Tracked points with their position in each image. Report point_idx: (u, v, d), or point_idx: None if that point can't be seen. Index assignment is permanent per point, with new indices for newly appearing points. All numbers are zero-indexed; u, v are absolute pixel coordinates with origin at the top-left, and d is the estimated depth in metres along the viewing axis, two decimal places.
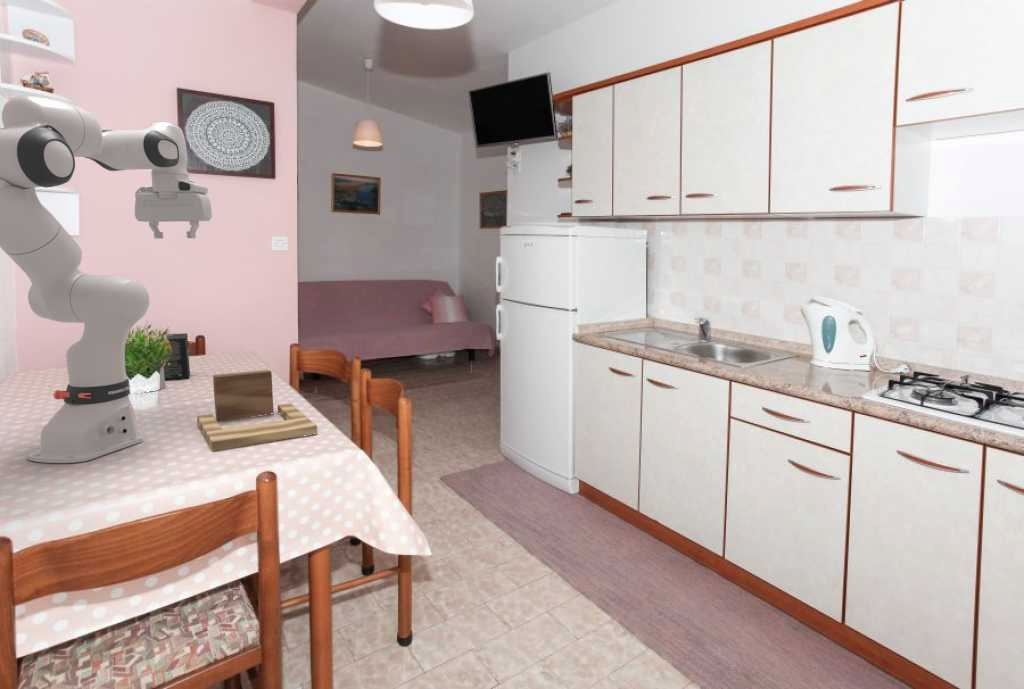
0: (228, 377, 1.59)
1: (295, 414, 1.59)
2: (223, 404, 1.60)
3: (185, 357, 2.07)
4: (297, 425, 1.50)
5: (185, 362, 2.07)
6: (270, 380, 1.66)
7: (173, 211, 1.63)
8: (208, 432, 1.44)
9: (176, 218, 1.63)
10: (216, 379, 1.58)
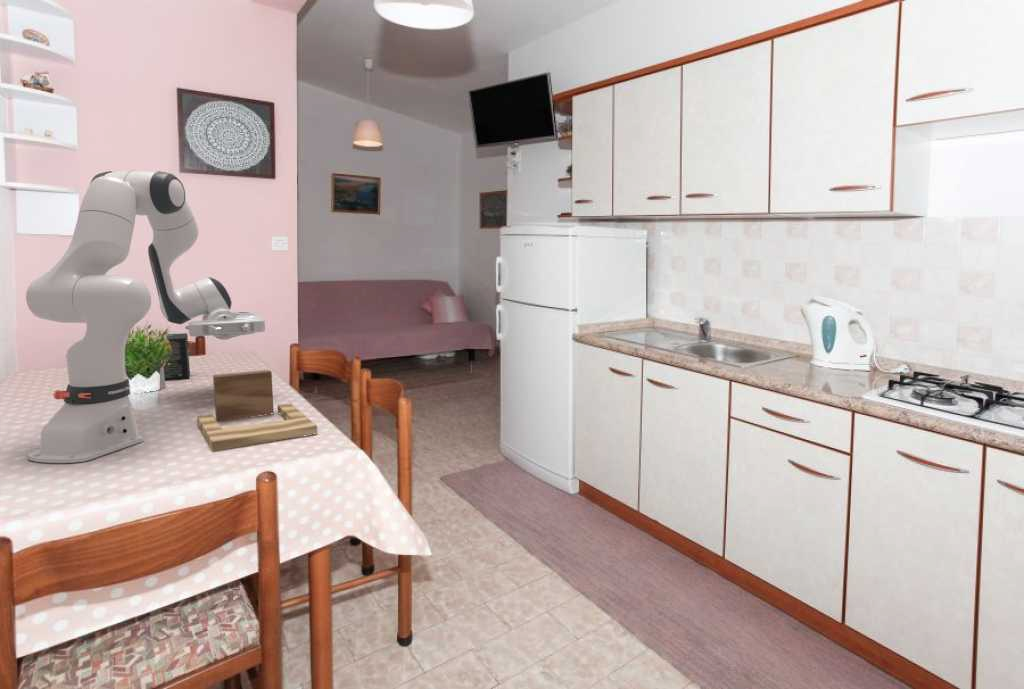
0: (228, 377, 1.59)
1: (295, 414, 1.59)
2: (223, 404, 1.60)
3: (185, 357, 2.07)
4: (297, 425, 1.50)
5: (185, 362, 2.07)
6: (270, 380, 1.66)
7: (231, 320, 1.77)
8: (208, 432, 1.44)
9: (235, 321, 1.76)
10: (216, 379, 1.58)
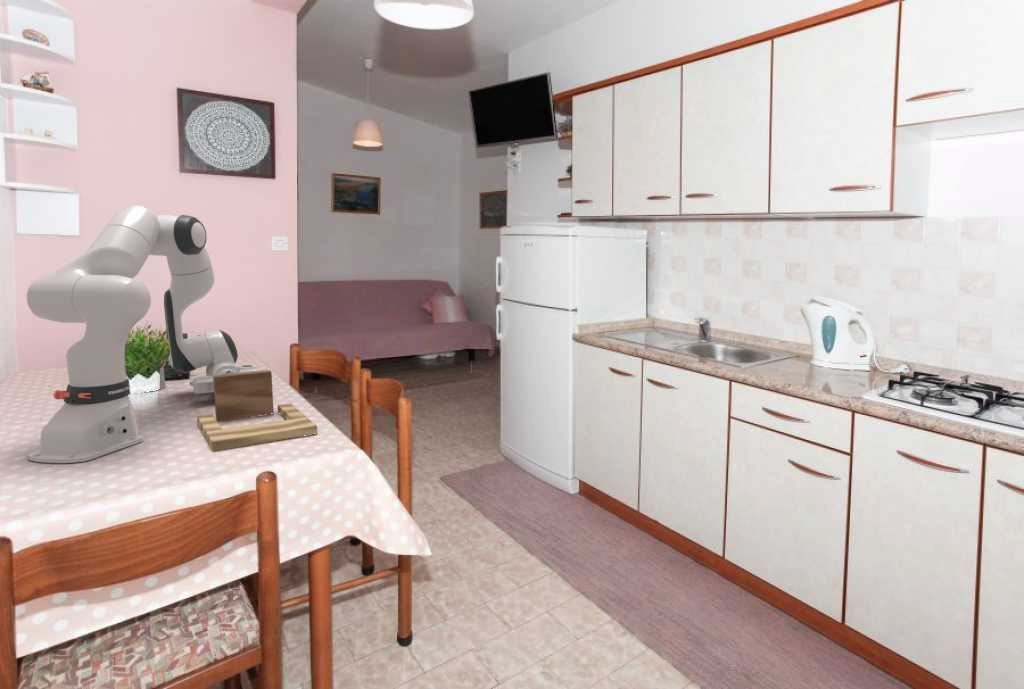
0: (228, 377, 1.59)
1: (295, 414, 1.59)
2: (223, 404, 1.60)
3: None
4: (297, 425, 1.50)
5: None
6: (270, 380, 1.66)
7: None
8: (208, 432, 1.44)
9: None
10: (216, 379, 1.58)
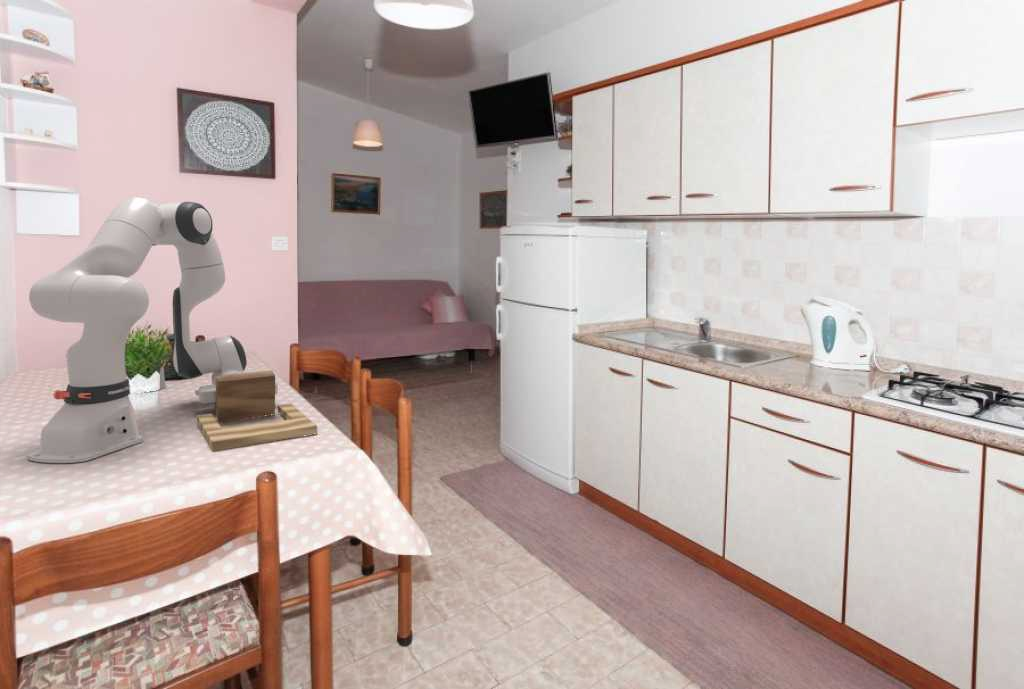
0: (231, 381, 1.56)
1: (295, 414, 1.59)
2: (225, 406, 1.58)
3: None
4: (297, 425, 1.50)
5: None
6: (273, 383, 1.63)
7: None
8: (208, 432, 1.44)
9: None
10: (219, 383, 1.55)
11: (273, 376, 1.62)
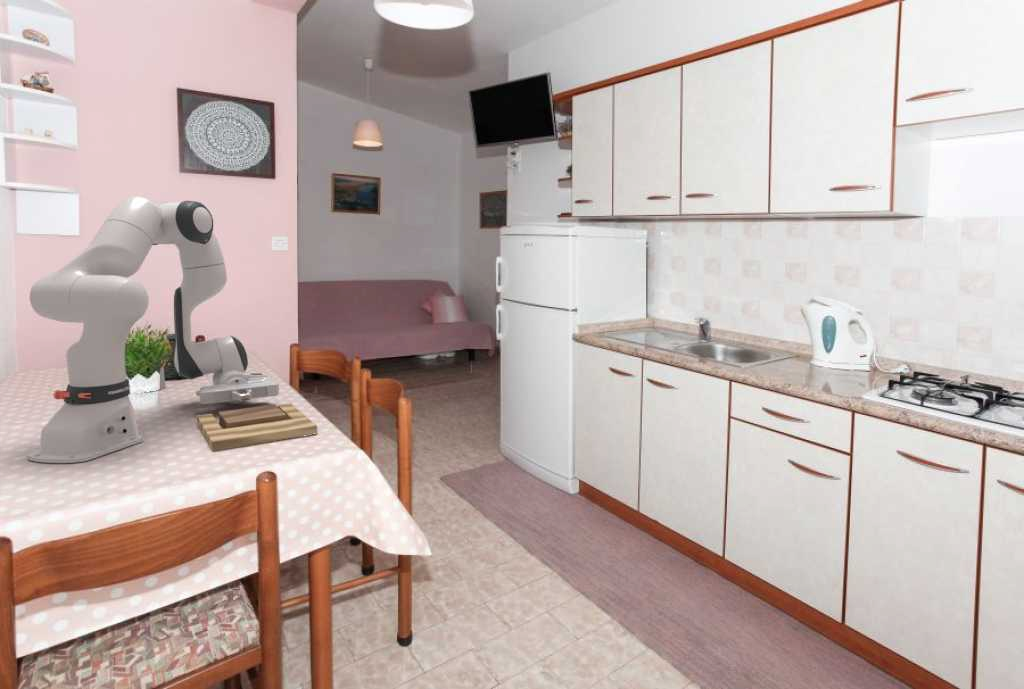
0: None
1: (295, 414, 1.59)
2: None
3: None
4: (297, 425, 1.50)
5: None
6: None
7: (244, 385, 1.69)
8: (208, 432, 1.44)
9: (248, 386, 1.68)
10: None
11: None
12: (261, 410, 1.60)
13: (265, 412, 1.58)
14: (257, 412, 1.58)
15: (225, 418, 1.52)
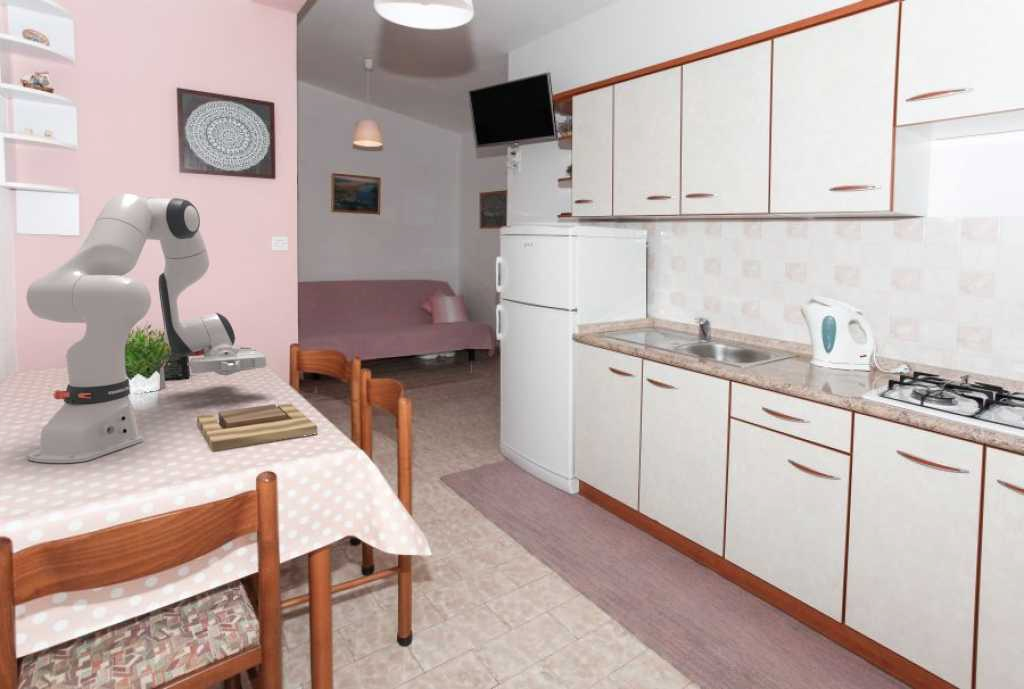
0: None
1: (295, 414, 1.59)
2: None
3: (185, 357, 2.07)
4: (297, 425, 1.50)
5: (185, 362, 2.07)
6: None
7: (233, 357, 1.78)
8: (208, 432, 1.44)
9: (237, 357, 1.77)
10: None
11: None
12: (261, 410, 1.60)
13: (265, 412, 1.58)
14: (257, 412, 1.58)
15: (225, 418, 1.52)
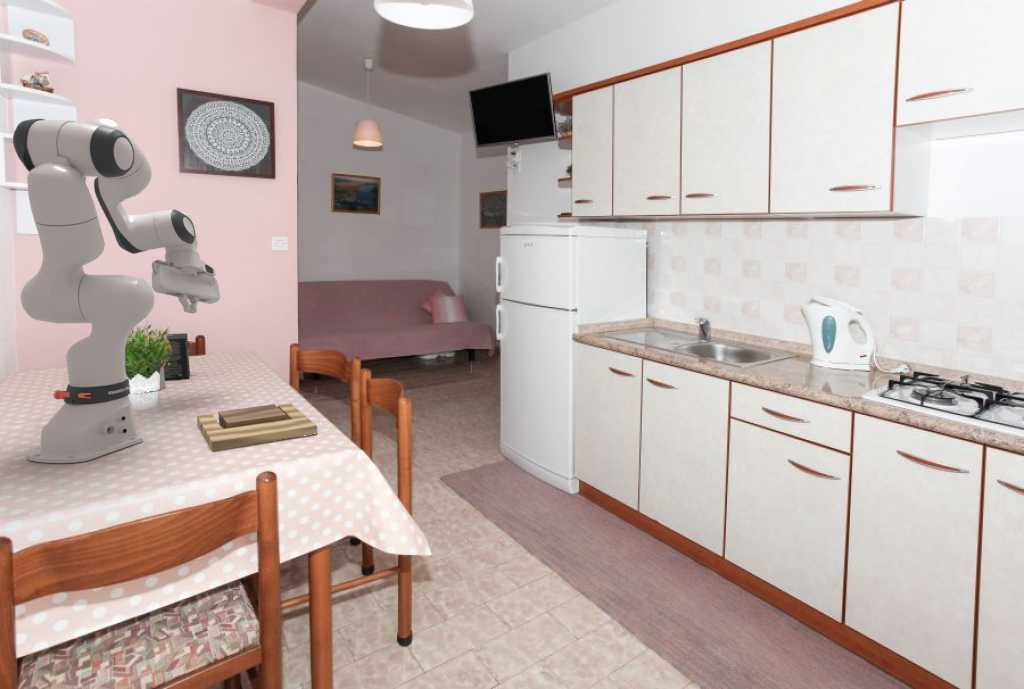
0: None
1: (295, 414, 1.59)
2: None
3: (185, 357, 2.07)
4: (297, 425, 1.50)
5: (185, 362, 2.07)
6: None
7: (195, 288, 1.73)
8: (208, 432, 1.44)
9: (198, 294, 1.74)
10: None
11: None
12: (261, 410, 1.60)
13: (265, 412, 1.58)
14: (257, 412, 1.58)
15: (225, 418, 1.52)
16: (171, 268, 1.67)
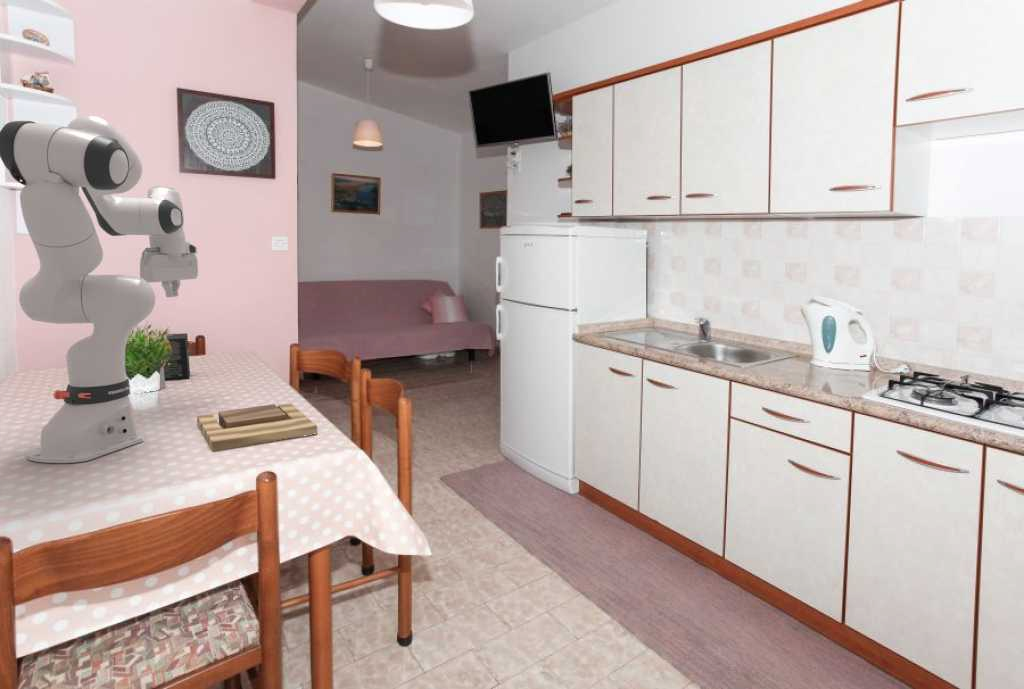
0: None
1: (295, 414, 1.59)
2: None
3: (185, 357, 2.07)
4: (297, 425, 1.50)
5: (185, 362, 2.07)
6: None
7: (179, 272, 1.72)
8: (208, 432, 1.44)
9: (181, 278, 1.73)
10: None
11: None
12: (261, 410, 1.60)
13: (265, 412, 1.58)
14: (257, 412, 1.58)
15: (225, 418, 1.52)
16: (160, 257, 1.64)
